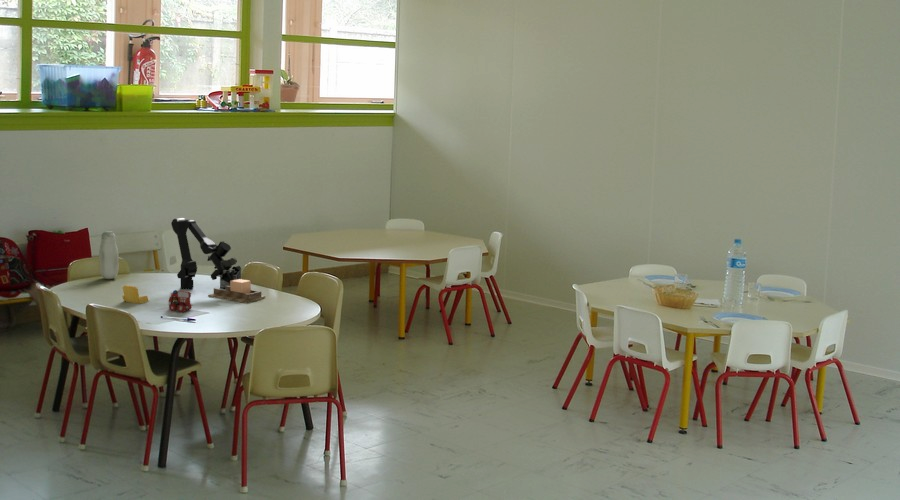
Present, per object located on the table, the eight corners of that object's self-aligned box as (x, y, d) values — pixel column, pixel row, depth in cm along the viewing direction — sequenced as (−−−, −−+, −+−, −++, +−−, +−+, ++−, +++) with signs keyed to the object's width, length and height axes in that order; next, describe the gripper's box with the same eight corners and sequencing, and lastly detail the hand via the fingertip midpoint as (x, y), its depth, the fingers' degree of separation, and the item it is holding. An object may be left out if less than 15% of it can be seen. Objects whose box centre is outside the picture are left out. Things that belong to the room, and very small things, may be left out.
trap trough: (208, 296, 531) (208, 289, 530) (228, 291, 545) (228, 284, 544) (245, 302, 518) (245, 295, 517) (265, 297, 532) (265, 290, 531)
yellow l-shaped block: (149, 301, 515) (149, 284, 514) (137, 304, 506) (137, 287, 505) (133, 299, 519) (132, 282, 517) (121, 302, 510) (120, 285, 509)
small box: (241, 287, 558) (241, 268, 557) (238, 289, 552) (238, 270, 550) (223, 286, 559) (223, 268, 558) (219, 288, 553) (219, 270, 551)
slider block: (230, 295, 529) (230, 280, 528) (239, 293, 535) (239, 278, 533) (241, 297, 525) (241, 282, 524) (250, 295, 531) (250, 280, 530)
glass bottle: (104, 276, 575) (103, 229, 570) (121, 277, 574) (120, 230, 569) (96, 280, 565) (95, 231, 560) (114, 280, 564) (113, 232, 559)
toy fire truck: (174, 308, 501) (173, 288, 499) (194, 310, 496) (194, 290, 495) (165, 310, 494) (165, 290, 493) (186, 313, 490) (186, 292, 488)
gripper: (214, 255, 523) (230, 278, 519) (238, 250, 539) (254, 273, 535) (203, 268, 528) (219, 290, 525) (228, 263, 544) (243, 285, 540)
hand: (234, 284), depth 531 cm, fingers closed
